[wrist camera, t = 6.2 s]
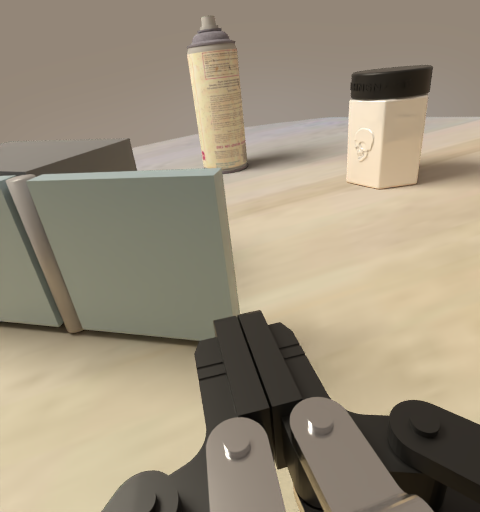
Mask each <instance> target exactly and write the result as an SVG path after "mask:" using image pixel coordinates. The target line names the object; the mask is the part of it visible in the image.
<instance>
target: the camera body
mask: <svg viewBox="0 0 480 512" xmlns="http://www.w3.org/2000/svg"><path fill="white" fill-rule="evenodd" d="M121 171H137V169H136V164H135V160H134V156H133V152H132V147H131V144H130V139H129V138H127V139H91V140H90V139H88V140H52V141H13V142H12V141H11V142H6V143H1V144H0V176H12V175H16V177H17V176H21V175H28V174H34V175H35V176H36V177H37V176H40V175H42V174H66V173H94V172H121Z"/></svg>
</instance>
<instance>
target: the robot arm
mask: <svg viewBox="0 0 480 512" xmlns="http://www.w3.org/2000/svg"><path fill="white" fill-rule="evenodd" d="M213 325H214V331H215V337H214V338H209V339H205V340H201V341H199V343H198V346H197V349H196V351H195V360H196V366H197V373H198V379H199V385H200V391H201V397H202V404H203V410H204V416H205V422H206V438H205V441H204V444H203V446H202V448H201V449H200V451H199V452H198V454H197V455H196V456H195V457H194V458H193V459H192V460H191V461H190V462H188V463H187V464H186V465H184V466H183V467H181V468H180V469H178V470H177V471H175V472H173V473H172V474H170V475H169V476H168V475H167V474H165V473H163V472H160V471H154V470H153V471H145V472H141V473H138V474H136V475H134V476H132V477H131V478H129V479H128V480H127V481H125V482H124V483H123V484H122V485H121V486H120V487H119V488H118V490H117V491H116V492H115V493H114V495H113V496H112V498H111V499H110V500H109V502H108V503H107V505H106V506H105V507H104V509H103V510H102V512H286V511H285V506H284V502H283V498H282V494H281V490H280V486H279V481H278V477H277V473H276V469H275V463H276V466H277V469H281V468H285V467H288V470H289V473H290V475H291V478H292V481H293V490H294V497H295V500H296V503H297V505H298V508H299V510H300V512H480V425H479V424H477V423H475V422H472V421H470V420H468V419H465V418H463V417H461V416H458V415H456V414H454V413H452V412H449V411H447V410H445V409H442V408H440V407H438V406H435V405H433V404H430V403H428V402H424V401H419V400H408V401H403V402H400V403H399V404H397V405H396V406H395V407H394V408H393V409H392V411H391V413H390V416H383V415H362V414H356V413H352V412H350V411H347V410H345V409H344V408H343V407H342V406H341V405H340V404H338V403H337V402H335V401H333V400H331V398H330V397H329V396H328V394H327V392H326V391H325V389H324V387H323V385H322V383H321V382H320V380H319V378H318V376H317V375H316V373H315V371H314V369H313V367H312V366H311V364H310V362H309V360H308V358H307V357H306V356H305V353H304V351H303V349H302V348H301V346H300V345H299V342H298V340H297V339H296V337H295V335H294V333H293V331H291V330H290V329H289V328H287V327H286V326H285V325H283V324H282V323H280V322H279V323H275V324H270V325H267V323H266V320H265V318H264V316H263V314H262V312H261V311H260V310H258V311H253V312H248V313H244V314H239V315H237V317H236V315H235V316H231V317H226V318H222V319H217V320H213ZM274 460H275V463H274Z"/></svg>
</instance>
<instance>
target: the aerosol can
mask: <svg viewBox="0 0 480 512" xmlns="http://www.w3.org/2000/svg"><path fill="white" fill-rule="evenodd" d="M201 19H202V27H201V28H200V30H199V31H198V33H199V34H196V35H195V36H194V37H193V40H192V44H191V45H190V46H187V48H188V53H187V57H188V63H189V70H190V77H191V84H192V91H193V97H194V104H195V110H196V117H197V124H198V130H199V138H200V145H201V151H202V158H203V165H204V168H222V174H227V173H233V172H237V171H241V170H243V169H245V168H246V167H247V154H246V143H245V132H244V122H243V111H242V100H241V89H240V78H239V67H238V57H237V48H236V46H235V44H234V43H235V41H232V40H230V39H229V37H228V35H227V34H226V33H225V32H223V31H221V28H218V25H216V24H215V18H214V16H205V17H202V18H201Z"/></svg>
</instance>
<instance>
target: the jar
mask: <svg viewBox="0 0 480 512" xmlns="http://www.w3.org/2000/svg"><path fill="white" fill-rule="evenodd" d="M432 70H433V67H432V66H431V65H419V66H404V67H392V68H382V69H373V70H366V71H359V72H355V73H353V74H352V82H351V98H353V99H351V100H350V102H349V125H348V152H347V179H346V180H347V182H348V183H352V184H357V185H362V186H366V187H371V188H376V189H383V188H391V187H398V186H405V185H413V184H416V183H417V179H418V171H419V164H420V156H421V148H422V141H423V133H424V126H425V118H426V110H427V102H428V92H430V85H431V78H432Z"/></svg>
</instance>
